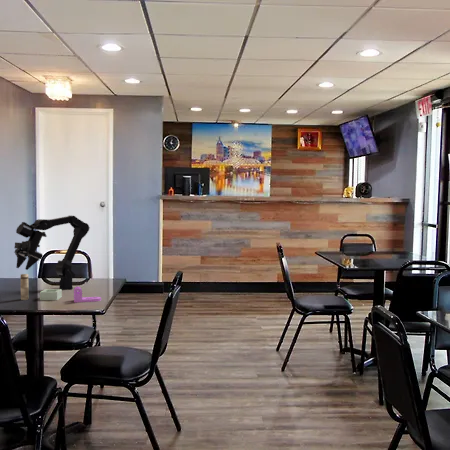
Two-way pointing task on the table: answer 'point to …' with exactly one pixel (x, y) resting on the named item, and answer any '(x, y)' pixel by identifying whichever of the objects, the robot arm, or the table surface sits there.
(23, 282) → the beige cylinder
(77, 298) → the bracket
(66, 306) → the table surface
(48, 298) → the square frame
